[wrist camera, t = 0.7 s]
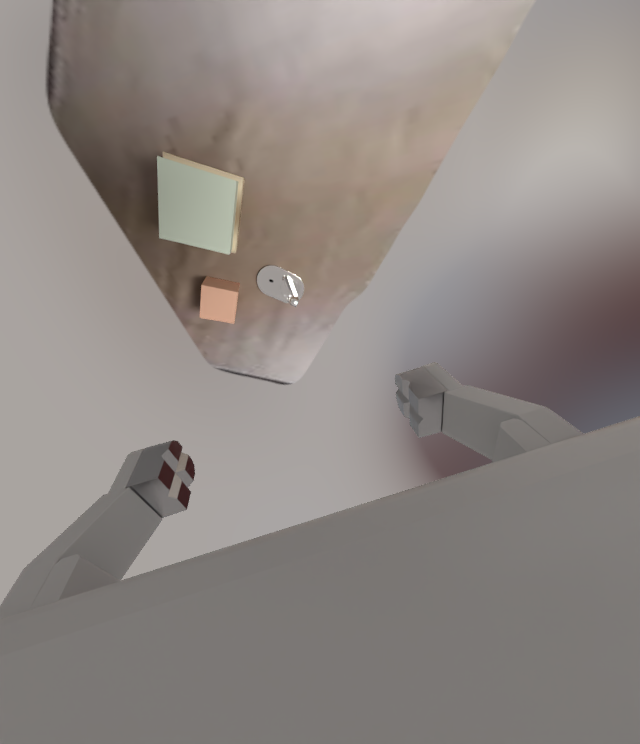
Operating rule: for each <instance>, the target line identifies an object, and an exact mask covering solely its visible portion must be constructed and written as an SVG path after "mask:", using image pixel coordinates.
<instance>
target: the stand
mask: <svg viewBox="0 0 640 744" xmlns="http://www.w3.org/2000/svg"><path fill="white" fill-rule="evenodd" d="M257 285H258V287H259V289H260V290H261V291H262V292H263V293H264V294H266V295H268V296H270V297H273V298H275V299H277V300H280V301H282V302H285V303H290V305H292V306H294V307H296V306H297V304H298V301H299V299H300V298H301V297H302V295H303V293H304V284H303V282H302V280H301V279H300V277H298V276H297V275H295V274H293V273H291V272H289V271H287V270H285V269H283V268H280V267H278V266H276V265H267V266H265V267H263V268H262V269H261V270H260V271H259V273H258V275H257Z"/></svg>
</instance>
